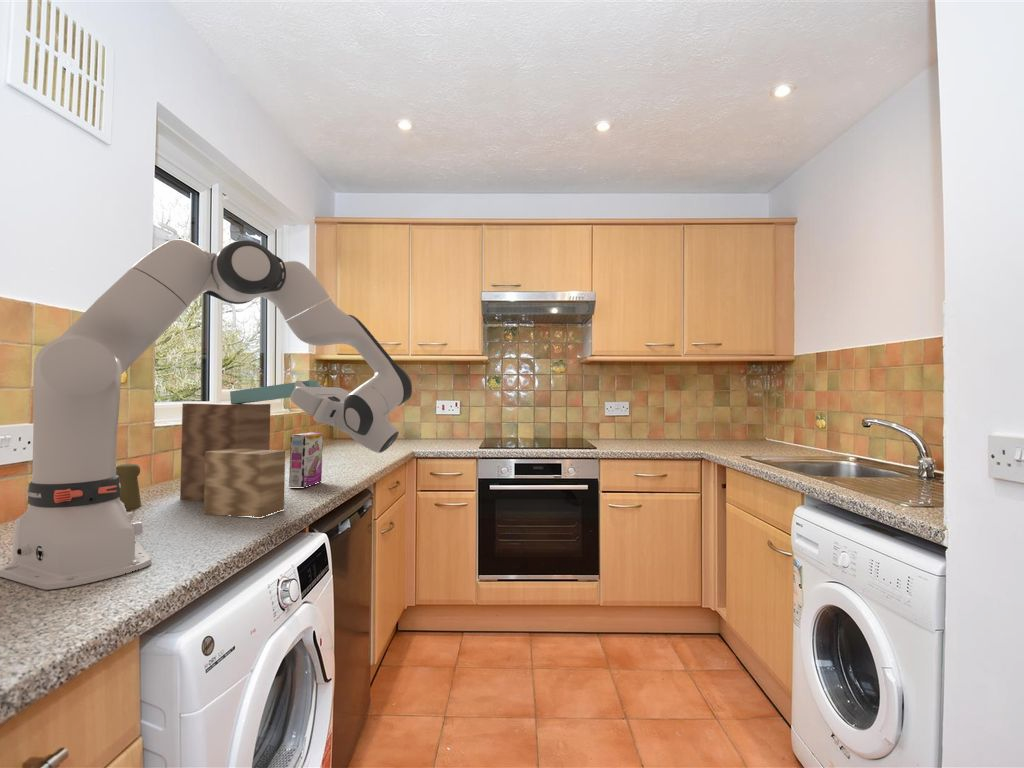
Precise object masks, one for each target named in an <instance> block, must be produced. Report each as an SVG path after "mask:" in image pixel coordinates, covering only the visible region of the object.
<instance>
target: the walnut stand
mask: <svg viewBox="0 0 1024 768" xmlns="http://www.w3.org/2000/svg"><path fill="white" fill-rule="evenodd" d="M181 408H182V411H181V415H182V417H181V418H182V419H181V448H180V449H181V451H180V452H181V455H180V494H179V496H180V497H179V498H180V499H179V500H182V501H183V500H186V501H196V502H204V486H205V452H207V451H214V450H221V449H228V448H240V449H260V450H271V448H270V445H271V444H270V443H271V442H270V441H271V403H255V402H251V403H244V404H231V402H195V403H194V402H188V403H187V402H186V403H182V407H181Z"/></svg>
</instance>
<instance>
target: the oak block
mask: <svg viewBox="0 0 1024 768" xmlns="http://www.w3.org/2000/svg"><path fill="white" fill-rule="evenodd" d="M285 477H286V450H278V449H277V450H275V449H270V450H260V449H240V448H228V449H221V450H214V451H207V452H205V486H204V501H203V514H204V515H208V514H210V516H220V515H231V516H252V517H253V516H254V517H262V516H266V515H268V514H271V513H274V512H277V511H280V510H283V509H284V510H285V486H286V485H285V481H286V480H285V479H286V478H285ZM211 514H212V515H211ZM231 516H230V517H231Z"/></svg>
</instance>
